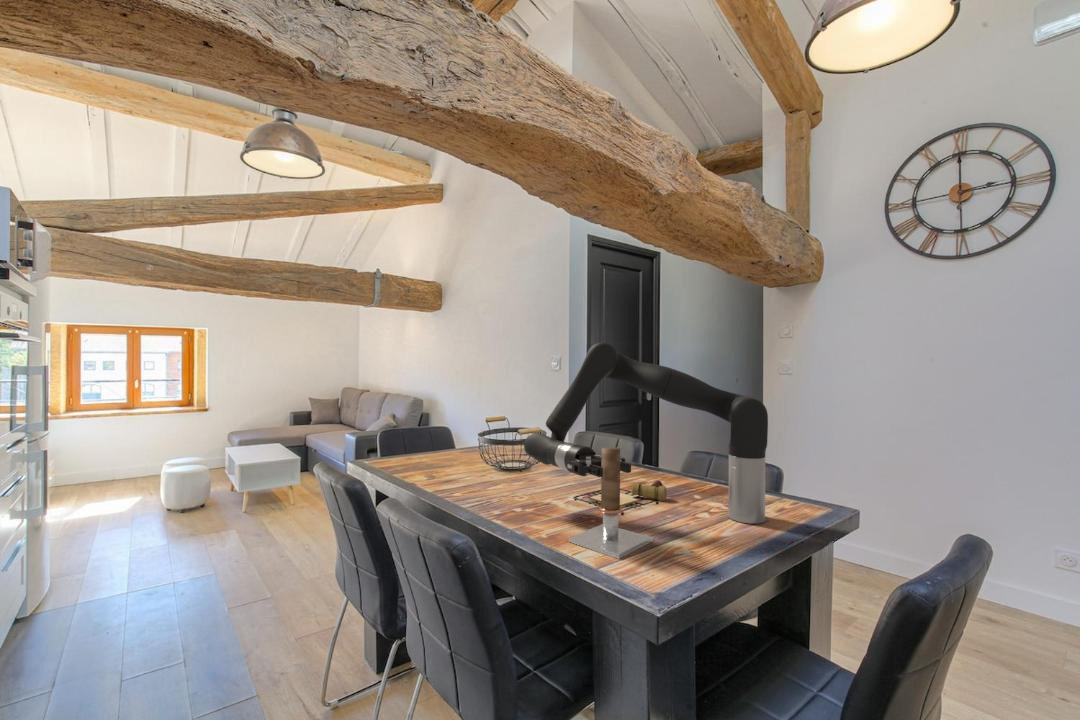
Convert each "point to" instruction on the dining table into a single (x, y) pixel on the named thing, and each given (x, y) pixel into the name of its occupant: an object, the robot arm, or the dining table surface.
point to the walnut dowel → (610, 478)
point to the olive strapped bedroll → (650, 490)
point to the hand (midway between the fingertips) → (616, 470)
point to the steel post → (611, 537)
